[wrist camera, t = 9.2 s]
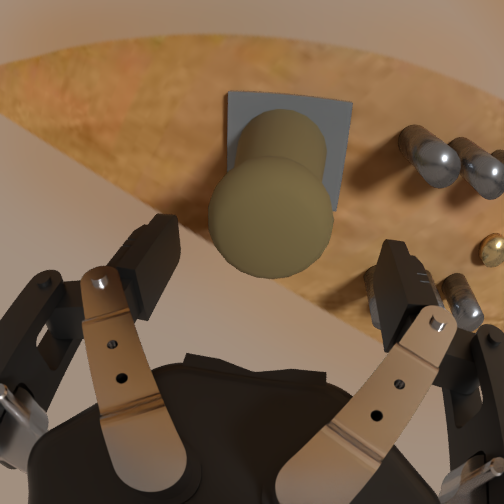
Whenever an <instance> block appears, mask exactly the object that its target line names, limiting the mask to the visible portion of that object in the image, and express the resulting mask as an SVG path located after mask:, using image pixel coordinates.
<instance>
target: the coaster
mask: <svg viewBox="0 0 504 504" xmlns="http://www.w3.org/2000/svg"><path fill="white" fill-rule="evenodd" d="M352 105H353V103H352V102H350V101H343V100H337V99H329V98H322V97H314V96H305V95H295V94H284V93H271V92H255V91H228V133H227V172H228V171H229V170H231V169H233V168H234V164H235V158H236V152H237V146H238V141H239V138H240V136H241V133H242V131H243V129H244V128H245V126H246V125H247V124H248V123H249V122H250V121H251V119H253V118H254V117H256V116H258V115H259V114H261V113H263V112H266V111H270V110H275V109H286V110H294V111H296V112H298V113H301V114H303V115H305V116H307V117H308V118H309V119H310V120H312V121H313V122H314V123H315V124H316V125H317V126H318V127H319V129H320V131H321V133H322V134H323V136H324V138H325V143H326V148H327V155H326V162H325V168H324V174H323V179H322V184H323V185H324V187H325V189H326V191H327V192H328V194H329V196H330V200H331V205H332V211H336V209H337V204H338V198H339V193H340V187H341V181H342V175H343V169H344V162H345V156H346V149H347V142H348V135H349V128H350V121H351V113H352Z"/></svg>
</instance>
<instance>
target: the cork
mask: <svg viewBox="0 0 504 504" xmlns="http://www.w3.org/2000/svg"><path fill="white" fill-rule="evenodd" d="M326 155H327V148H326V143H325V138H324V136H323V134H322V133H321V131H320V129H319V127H318V126H317V125H316V124H315V123H314V122H313V121H312V120H310V119H309V118H308V117H307V116H305V115H303V114H301V113H298V112H296V111H294V110H286V109H275V110H270V111H266V112H263V113H261V114H259V115H258V116H256V117H254V118H253V119H251V121H250V122H249V123H248V124H247V125H246V126H245V128H244V129H243V131H242V133H241V136H240V138H239V141H238V146H237V152H236V158H235V164H234V168H233V169H231V170H229V171H228V172H227V174H226V175H225V176H224V177H223V178H222V180H221V181H220V182H219V183H218V185H217V186H216V188H215V189H214V192H213V195H212V197H211V200H210V203H209V206H208V226H209V232H210V235H211V238H212V240H213V243H214V245H215V247H216V248H217V250H218V251H219V252H220V253H221V255H222V256H223V257H224V258H225V260H226V261H227V262H228V263H229V264H231V265H232V266H234V267H235V268H236V269H238V270H239V271H241V272H243V273H246V274H249V275H251V276H254V277H258V278H266V279H277V278H285V277H290V276H292V275H294V274H297V273H299V272H302V271H303V270H305V269H306V268H308V267H309V266H310V265H311V264H313V263H314V262H315V261H316V260H317V259H319V258H320V256H321V255H322V253H323V251H324V250H325V248H326V247H327V245H328V243H329V240H330V237H331V232H332V227H333V222H334V217H333V211H332V205H331V200H330V196H329V194H328V192H327V191H326V189H325V187H324V185H323V184H322V179H323V174H324V168H325V162H326Z"/></svg>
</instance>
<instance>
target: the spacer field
mask: <svg viewBox="0 0 504 504" xmlns="http://www.w3.org/2000/svg"><path fill="white" fill-rule="evenodd" d="M398 144H399V149H400V151H401V152H402V154H403V155H404V156H405V157H406V158H407V159H408V161H409V162H410V163H411V164H412V165H413V166H414V167H415V169H416V170H417V171H418V172H419V173H420V175H421V176H422V177H423V178H424V179H425V181H426V182H427V183H428V184H429V185H431V186H433V187H435V188H445V187H447V186H449V185H451V184H452V183H454V182H455V180H456V179H457V177H458V176H459V174H460V175H461V176H462V177H463V178H464V179H465V180H466V181H467V182H468V183H469V184H470V185H471V186H472V187H473V188H474V189H475V190H476V191H477V192H478V193H479V194H480V195H481V196H482V197H483V198H485V199H488V200H492V199H496V198H498V197H499V196H501V195H502V194H503V192H504V150H497V151H495V152H494V153H492V155H490V154H489V153H488V152H486V151H485V150H483V149H482V148H481V147H479V146H478V145H476V144H475V143H473V142H472V141H470V140H469V139H467V138H465V137H459V138H456V139H454V140H453V141H452V142H451V143H450V144H449V146H448V145H447V144H446V143H444V142H443V141H442V140H440V139H439V138H438V137H436V136H435V135H434V134H432V133H431V132H430V131H428V130H427V129H425V128H424V127H422V126H420V125H410V126H408V127H406V128H405V129H404V130H403V131H402V132H401V134H400V136H399V140H398ZM375 268H376V266H373V267H371V268H370V269H368V270H367V272H366V273H365V276H364V281H365V286H366V291H367V296H368V302H369V307H370V313H371V318H372V324H373V325H374V327H376V328H377V329H380V330H381V327H380V321H379V316H378V310H377V305H376V299H375V294H374V289H373V276H374V271H375ZM425 271H426V273H427V276H428V278H429V281H430V283H431V286H432V288H433V291H434V293H435V296H436V299H437V301H438V304H439V307H442V308H444V309H445V307H444V305H443V302H442V300H441V297H440V295H439V292H438V290H437V287H436V285H435V283H434V280H433V278H432V276H431V274H430V272H429V271H427V270H425ZM442 291H443V293H444V295H445V298H446V300H447V302H448V305H449V307H450V310H451V312H452V315H453V317H454V318H455V320H456V323H457V327H458V328H461V329H464V330H467V331H470V332H472V331H474V330H475V329H477V328H478V327H479V326H480V325H481V324H482V322H483V320H484V315H483V313H482V311H481V308H480V306H479V304H478V302H477V300H476V298H475V296H474V294H473V292H472V290H471V288H470V286H469V284H468V282H467V280H466V278H465V276H464V275H463V274H460V273H455V274H452V275H450V276H449V277H447V278H446V279H445V281H444V282H443V284H442Z"/></svg>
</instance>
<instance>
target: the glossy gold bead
mask: <svg viewBox="0 0 504 504" xmlns="http://www.w3.org/2000/svg"><path fill="white" fill-rule="evenodd" d="M479 256H480V258H481V260H482V261H483V263H484V264H485V265H486V266H487V267H496V266H498V265H499V264H501V263H502V262H503V261H504V238H503V236H502V235H500V234H498V233H493V234H490V235H488V236H487V237H486V238H485V239H484V240H483V241H482V242H481V244H480V247H479Z"/></svg>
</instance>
